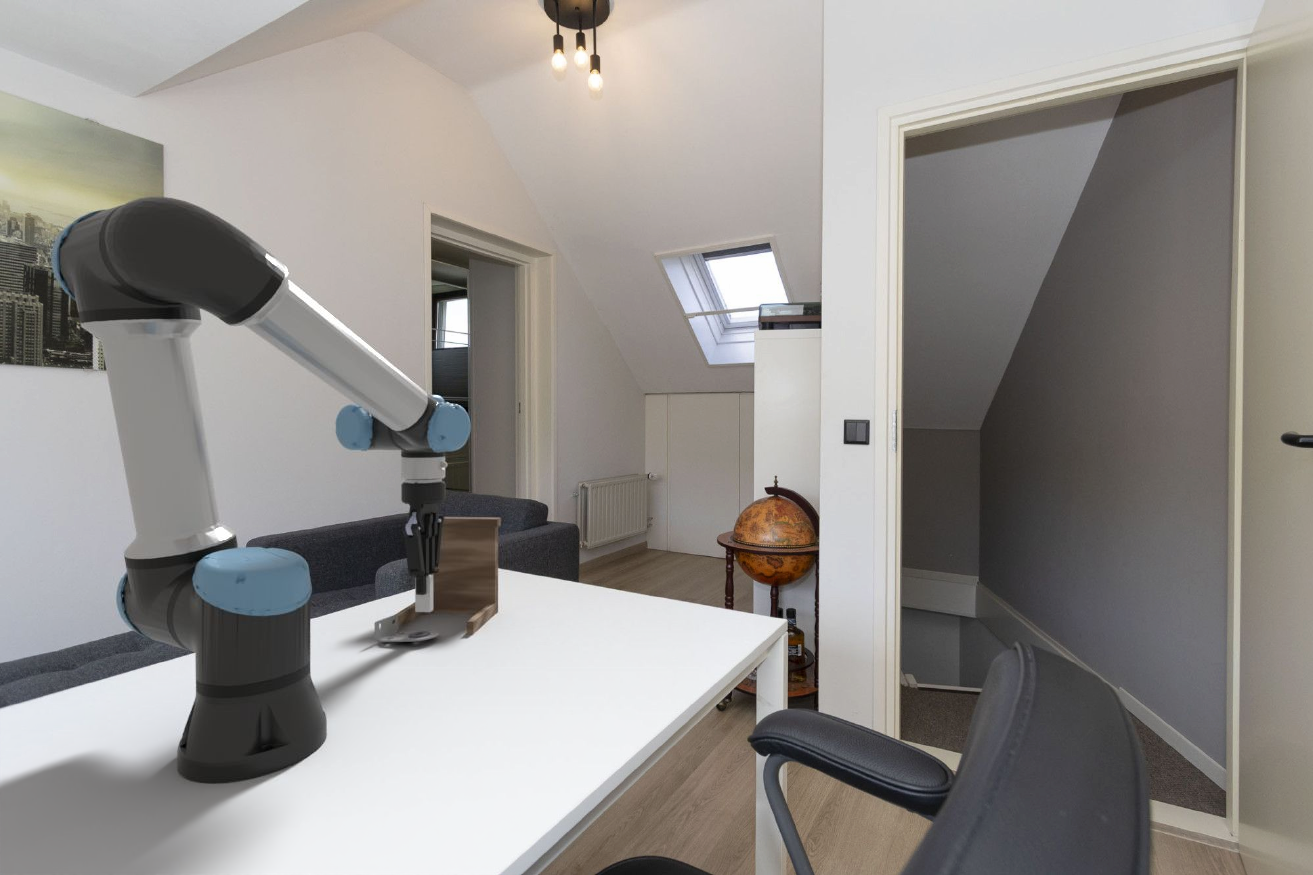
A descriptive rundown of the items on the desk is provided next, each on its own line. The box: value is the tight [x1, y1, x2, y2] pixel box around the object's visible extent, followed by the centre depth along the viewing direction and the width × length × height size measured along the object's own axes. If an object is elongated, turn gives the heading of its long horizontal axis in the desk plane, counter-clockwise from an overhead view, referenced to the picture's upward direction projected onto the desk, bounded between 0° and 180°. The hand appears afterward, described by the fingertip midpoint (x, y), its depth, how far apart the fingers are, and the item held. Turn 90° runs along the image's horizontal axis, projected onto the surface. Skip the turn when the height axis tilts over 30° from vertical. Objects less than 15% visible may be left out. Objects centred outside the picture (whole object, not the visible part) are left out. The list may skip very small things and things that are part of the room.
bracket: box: [374, 614, 440, 643], centre depth 116 cm, size 7×10×3 cm, turn 78°
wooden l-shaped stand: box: [392, 516, 502, 636], centre depth 127 cm, size 15×17×20 cm
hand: (424, 610), depth 117 cm, fingers closed
